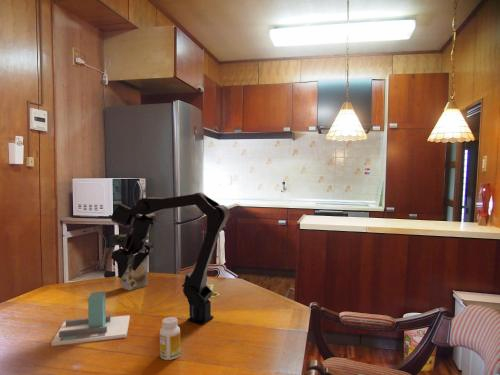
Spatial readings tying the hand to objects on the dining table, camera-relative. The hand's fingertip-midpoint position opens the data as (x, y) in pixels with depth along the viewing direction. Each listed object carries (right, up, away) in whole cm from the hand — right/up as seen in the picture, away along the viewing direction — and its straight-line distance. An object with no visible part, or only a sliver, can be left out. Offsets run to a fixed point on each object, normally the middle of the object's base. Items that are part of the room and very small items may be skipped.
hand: (127, 273), depth 120 cm
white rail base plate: (-6, -14, -13) cm, 20 cm away
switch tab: (-5, -13, -13) cm, 19 cm away
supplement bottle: (+21, -15, -27) cm, 38 cm away
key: (+27, -14, +21) cm, 36 cm away
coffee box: (-7, -13, +28) cm, 32 cm away
